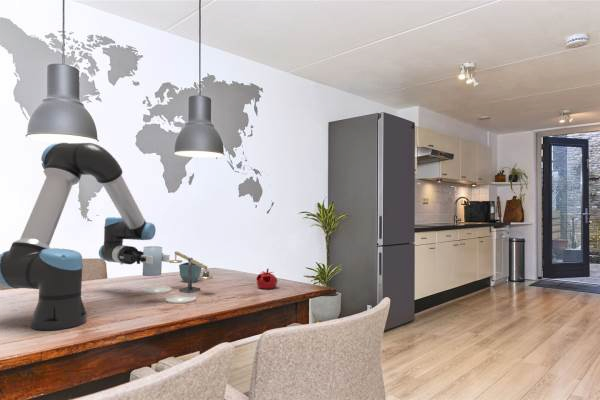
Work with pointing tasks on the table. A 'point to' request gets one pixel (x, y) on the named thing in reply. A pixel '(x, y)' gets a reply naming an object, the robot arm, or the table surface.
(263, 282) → the pomegranate
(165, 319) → the table surface
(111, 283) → the table surface
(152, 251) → the cup
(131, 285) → the table surface
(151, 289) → the dish high
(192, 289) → the balance
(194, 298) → the dish low
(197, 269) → the flower pot
